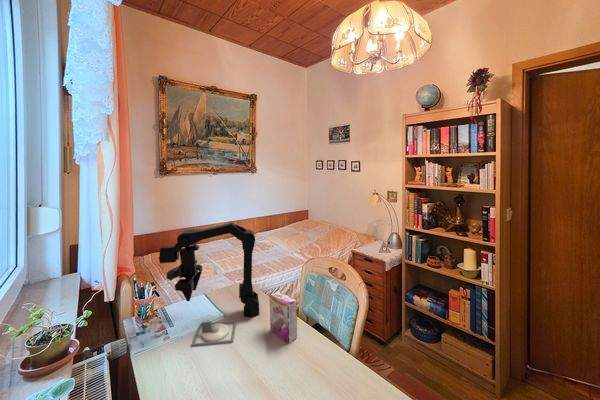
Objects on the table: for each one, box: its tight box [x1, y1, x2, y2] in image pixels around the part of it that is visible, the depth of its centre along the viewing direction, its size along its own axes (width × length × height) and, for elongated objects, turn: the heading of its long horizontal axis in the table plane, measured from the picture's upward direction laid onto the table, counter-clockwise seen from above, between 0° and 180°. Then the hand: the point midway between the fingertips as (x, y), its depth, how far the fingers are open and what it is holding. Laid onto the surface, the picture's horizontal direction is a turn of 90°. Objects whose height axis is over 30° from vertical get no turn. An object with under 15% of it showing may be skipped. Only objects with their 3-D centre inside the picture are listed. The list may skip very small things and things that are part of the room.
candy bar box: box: [269, 290, 298, 344], centre depth 106 cm, size 11×5×16 cm, turn 47°
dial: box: [201, 320, 229, 342], centre depth 106 cm, size 10×10×5 cm
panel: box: [191, 320, 237, 348], centre depth 107 cm, size 15×13×2 cm
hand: (191, 295), depth 113 cm, fingers open, 9 cm apart
